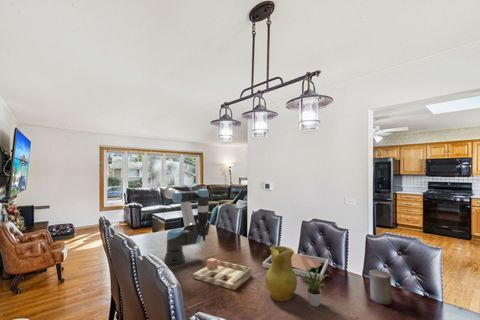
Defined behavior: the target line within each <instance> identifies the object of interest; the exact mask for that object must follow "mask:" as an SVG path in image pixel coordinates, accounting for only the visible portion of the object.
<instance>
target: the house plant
mask: <svg viewBox="0 0 480 320" xmlns="http://www.w3.org/2000/svg"><path fill="white" fill-rule="evenodd" d="M305 270H306V269H305ZM306 271H307V272H308V273H309V275H310V279H309V277H307V276H306V275H305V274H304V275H305V276H306V277H305V276H302V275H301V277H302V278H303V280H304V281H302V283H305V284H306V286H307V287H308V288H307V292H306V293H307V296H308V297H307V298H308V303H309V305H310V306H313V307H319V306H320V305H321V299H322V289H324V288H325V286H326V284H325V283H323V281H324V279H325V277H327V276H328V274H324V275H323V277H322V278H321V279H320V280H319V278H320V274H321V272H320V273H319V270H318V268H316V271H314V272H313V271H312V272H311V271H309V270H306ZM310 272H311V273H315V274H314V278H313V277H312V275H311V273H310ZM302 274H303V273H302ZM317 274H319V276H318V278H317ZM321 282H322V283H321Z"/></svg>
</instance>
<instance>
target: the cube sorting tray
mask: <svg viewBox="0 0 480 320" xmlns="http://www.w3.org/2000/svg"><path fill="white" fill-rule="evenodd" d="M213 276H214V277H213ZM251 277H252V267H251V266H250V267H249V266H244V265H241V264H237V263H236V264H235V263H231V262H228V261H222V260H218V259H217V267H216V268H214V269H210V268H207V265H206V266H204V267H203V268H201V269H199V270H197V271H195V272H194V273H192V278H193V279H196V280H199V281H202V282H205V283H208V284H213V285H216V286H220V287H223V288H227V289H229V290H232V291H236V290H237V289H238V288H239V287H240V286H241V285H243V284H244V283H245V282H246V281H247V280H249V278H251Z"/></svg>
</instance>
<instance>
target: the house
mask: <svg viewBox="0 0 480 320" xmlns="http://www.w3.org/2000/svg"><path fill="white" fill-rule="evenodd" d="M295 253H296V252H294V253H293V255H292V257H291V259H292V268H293V269H297V270H302V271H306V270H308V271H309V272H311V273H313V271H314V272H316V271H317V269H318V271H319V270H320V267H321V265H323V263H321V262H322V261H319V260H316V259H312V258H309V257H306V256H302V255H303V254H301V255H299V254H300V253H296V254H295ZM305 269H306V270H305Z"/></svg>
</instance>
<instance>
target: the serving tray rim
mask: <svg viewBox="0 0 480 320" xmlns="http://www.w3.org/2000/svg"><path fill="white" fill-rule="evenodd" d="M294 253H295V254H297V253H296V252H294ZM298 254H299V255H302V256H306V257H309V258H312V259H316V260H319V261H322V262H320V263H321V264H324V265H323V266H322V269H321V270H320V273H321V274H320V273H318V274H317V278H318V276H319V274H320V278H319V281H320V279H321V278H322V277H323V276H325V273H326V270H327V268H328V266H329V258H323V257H318V256H312V255H306V254H300V253H298ZM271 261H272V254H270V255H269V257H267V258H266V259H265V260H263V262H262V268H264V269H269V268H270V266H271ZM293 271H294V272H295V274H296V276H301V275H302V276H304V277H305V278H307V277H308V278H310V275H309V273H308V272H307V271H304V270H301V269H298V268H296V269H294V268H293ZM309 272H310V273H311V275H312V277H313V279H314V274H315V273H316V272H314V273H313V272H311V271H309ZM302 273H303V274H302ZM304 274H305V275H306V276H307V277H306V276H305V275H304ZM302 276H301V277H302ZM310 279H311V278H310Z"/></svg>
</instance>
